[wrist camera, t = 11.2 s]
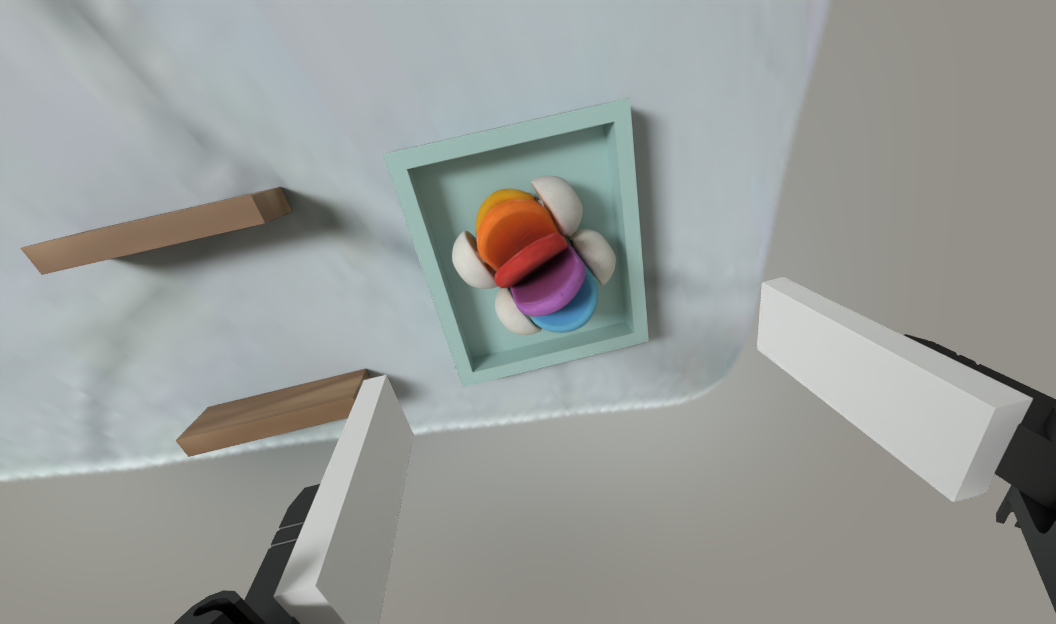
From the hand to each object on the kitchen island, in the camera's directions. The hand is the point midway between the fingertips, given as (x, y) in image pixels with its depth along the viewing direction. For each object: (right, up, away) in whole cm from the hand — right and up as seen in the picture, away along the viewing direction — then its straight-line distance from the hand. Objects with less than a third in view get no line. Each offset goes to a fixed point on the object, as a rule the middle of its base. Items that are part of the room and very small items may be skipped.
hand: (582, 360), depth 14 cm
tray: (-2, +6, +14) cm, 15 cm away
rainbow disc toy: (-2, +6, +13) cm, 15 cm away
